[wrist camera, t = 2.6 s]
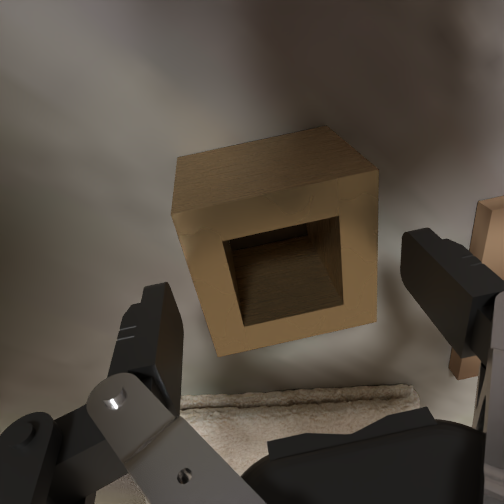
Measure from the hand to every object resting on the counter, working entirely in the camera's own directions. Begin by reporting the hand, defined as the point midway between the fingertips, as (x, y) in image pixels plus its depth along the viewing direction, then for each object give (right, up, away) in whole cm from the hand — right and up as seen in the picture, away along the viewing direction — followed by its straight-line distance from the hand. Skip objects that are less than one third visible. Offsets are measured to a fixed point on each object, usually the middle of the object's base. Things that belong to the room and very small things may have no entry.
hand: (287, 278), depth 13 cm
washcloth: (0, -12, +14) cm, 18 cm away
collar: (-1, +3, +4) cm, 5 cm away
